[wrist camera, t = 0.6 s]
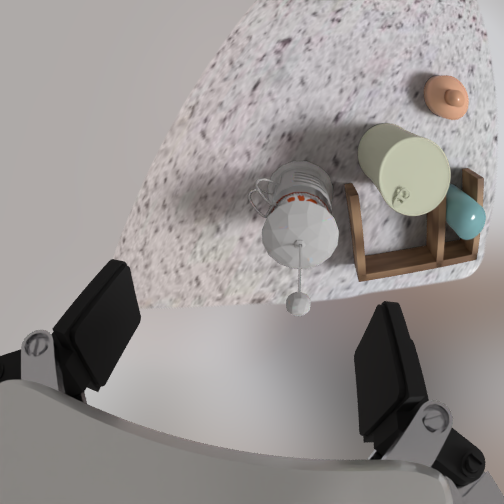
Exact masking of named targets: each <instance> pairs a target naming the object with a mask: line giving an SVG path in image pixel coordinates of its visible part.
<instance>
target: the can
mask: <svg viewBox="0 0 504 504" xmlns="http://www.w3.org/2000/svg"><path fill="white" fill-rule="evenodd" d="M358 160H359V164H360V167H361V169H362V170H363V172H364V173H365V175H366V176H367V177H368V178H370V179H371V180H372V182H373V183H374V184H375V186H376V187H377V189H378V190H379V192H380V193H381V195H382V197H383V199H384V200H385V202H386V203H387V204H388V205H389V206H390V207H391V208H392V209H393V210H395V211H396V212H398V213H400V214H403V215H407V216H418V215H423V214H425V213H428V212H430V211H432V210H433V209H434V208H436V207H437V206H438V205H439V204H440V203H441V201H442V200H443V199H444V197H445V195H446V193H447V191H448V188H449V184H450V166H449V162H448V159H447V157H446V155H445V154H444V152H443V151H442V149H441V148H440V147H439V146H438V145H437V144H436V143H434V142H433V141H431V140H429V139H427V138H423V137H420V136H418V135H415V134H413V133H411V132H408V131H406V130H404V129H403V128H401V127H399V126H397V125H394V124H388V123H385V124H379V125H376V126H374V127H372V128H370V129H369V130H368V131H367V132H366V133H365V134H364V135H363V137H362V139H361V141H360V143H359V147H358Z"/></svg>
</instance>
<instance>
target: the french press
mask: <svg viewBox="0 0 504 504" xmlns="http://www.w3.org/2000/svg"><path fill="white" fill-rule="evenodd" d="M263 180H264V181H269V184H268V192H267V191H264V190H261V189H259V187H258V186H257V184H258V183H259V181H263ZM256 188H257V189H253V190H251V191H250V193H249V194H248V199H249V201H250V203H251V205H252V206H253V208H254V209H255V211H257V212H258V213H259V214H260V215H261V216H262V217H264V218H267V219H266V222H265V224H264V226H263V229H262V242H263V244H264V246H265V248H266V250H267V252H268V254H269V255H270V256H271V257H272V258H273V259H274V260H275V261H277V262H278V263H279V264H282V265H284V266H287V267H289V268H292V269H299V275H298V292H295V293H292V294H291V295H289V296H288V298H287V300H286V308H287V311H288V312H290V313H291V314H292V315H293V316H303V315H304V314H306V313H307V312H309V310H310V297H309V296H308V295H307V294H304V293H302V292H300V291H301V269H308V268H311V267H314V266H318V265H320V264H321V263H323V262H324V261H325V260H327V259H328V258H329V257H331V255H332V253H333V252H334V250H335V248H336V247H337V245H338V236H339V230H338V227H337V224H336V221H335V219H334V217H333V216H332V208H331V202H332V200H333V186H332V183H331V181H330V178H329V176H328V175H327V174H326V173H325V172H324V171H323V170H322V169H321V167H319V166H317V165H315V164H312V163H310V162H308V161H292V162H290V163H287V164H285V165H282V166H281V167H280V168H279V169H278V170H277V171H275V172H274V173H273V174H272V176H271V179H270V180H269V179H266V178H262V179H258V180H257V181H256ZM254 191H258V192H259V194H260V195H261V196H262V198H263V199H264V200H265V201H267V202H268V203H269V204H270V208H269V210H268V212H267V214H266V216H265V215H263V214H262V213H261V212H260V211H259V210H257V208H256V207H255V205H254V204H253V203H252V200H251V197H250V196H251V193H252V192H254ZM261 191H262V192H265V193H268V199H269V201H268V200H267V199H266V198H265V197H264V195H263V194H262V193H261ZM329 206H330V210H329Z"/></svg>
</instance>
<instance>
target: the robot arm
mask: <svg viewBox="0 0 504 504" xmlns="http://www.w3.org/2000/svg"><path fill="white" fill-rule="evenodd" d="M140 320H141V315H140V311H139V307H138V303H137V299H136V294H135V290H134V285H133V281H132V276H131V271H130V268H129V266H127V264H126V263H125V262H124V261H119V260H114V259H112V260H110V261H109V262H108V263H107V264H106V265H105V266H104V267H103V269H102V270H101V271H100V272H99V273H98V274H97V275H96V276H95V278H94V279H93V280H92V281H91V282H90V283H89V285H88V286H87V287H86V288H85V289H84V290H83V292H82V293H81V294H80V295H79V296H78V298H77V299H76V300H75V301H74V302H73V304H72V305H71V306H70V307H69V309H68V310H67V311H66V312H65V314H64V315H63V316H62V317H61V319H60V320H59V321H58V323H57V324H56V325H55V326H54V328H53V331H54V332H53V333H52V334H50V333H49V332H48V331H46V330H36V331H34V332H32V333H30V334H29V335H28V336H27V337H26V338H25V339H24V341H23V343H22V347H21V350H18V351H15V352H11V353H8V354H5V355H2V356H0V504H504V496H503V494H502V493H501V491H500V489H499V488H498V486H497V484H496V483H495V481H494V480H493V478H492V476H491V475H490V473H489V472H488V471H487V472H486V473H485V472H484V469H485V458H484V455H483V453H482V452H481V451H480V450H479V449H478V448H477V447H476V446H474V445H473V444H472V443H471V442H469V441H468V440H467V439H465V438H464V437H463V436H462V435H460V434H459V433H458V432H457V431H456V430H454V429H453V428H452V424H453V417H452V414H451V411H450V410H449V408H448V407H447V406H446V405H445V404H444V403H442V402H440V401H435V400H432V401H429V400H428V395H427V391H426V387H425V382H424V378H423V374H422V370H421V367H420V363H419V359H418V355H417V352H416V349H415V345H414V343H413V340H411V339H410V336H409V332H408V329H407V326H406V322H405V319H404V316H403V313H402V310H401V307H400V305H399V303H396V302H386V301H384V302H383V303H382V304H381V305H378V306H377V307H376V309H375V312H374V314H373V316H372V318H371V321H370V323H369V325H368V327H367V329H366V331H365V333H364V335H363V337H362V339H361V341H360V343H359V345H358V347H357V349H356V351H355V355H354V362H355V374H356V384H357V398H358V412H359V432H360V435H362V436H363V437H364V442H374V449H375V450H374V452H373V453H372V454H371V455H370V456H369V458H368V459H367V460H329V459H307V458H293V457H282V456H273V455H264V454H258V453H250V452H244V451H239V450H233V449H228V448H222V447H217V446H213V445H208V444H204V443H200V442H195V441H191V440H187V439H184V438H180V437H176V436H173V435H169V434H166V433H163V432H159V431H156V430H153V429H150V428H147V427H144V426H141V425H138V424H135V423H132V422H130V421H127V420H124V419H121V418H119V417H116V416H114V415H111V414H109V413H107V412H104V411H102V410H99V409H97V408H95V407H92V406H90V405H88V404H87V401H86V397H85V393H84V390H85V389H86V387H88V388H90V389H92V390H94V391H97V392H98V391H99V389H100V387H101V386H104V385H105V384H106V382H107V380H108V379H109V377H110V375H111V373H112V371H113V369H114V368H115V366H116V364H117V362H118V360H119V358H120V357H121V355H122V353H123V351H124V350H125V348H126V346H127V344H128V343H129V340H130V339H131V337H132V336H133V334H134V332H135V330H136V329H137V327H138V325H139V323H140Z"/></svg>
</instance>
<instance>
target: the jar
mask: <svg viewBox="0 0 504 504" xmlns="http://www.w3.org/2000/svg"><path fill="white" fill-rule="evenodd" d="M485 219H486V216H485V211H484V209H483V207H482V206H481V205H479V204H478V203H477V202H476V201H475V200H474V199H472V198H471V197H470V196H469V195H467V194H466V193H465V192H464V191H462V190H461V189H460V188H458V187H457V186H456V185H454V184H449V188H448V191H447V193H446V222H447V223H448V224H449V225H450V226H451V228H452V229H453V230H454V231H455V232H456V233H457V235H458V236H459V237H460V238H462V239H465V240H469V239H472V238H474V237H476V236H477V235H478V234H479V233H480V232H481V231H482V229H483V227H484V224H485Z"/></svg>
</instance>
